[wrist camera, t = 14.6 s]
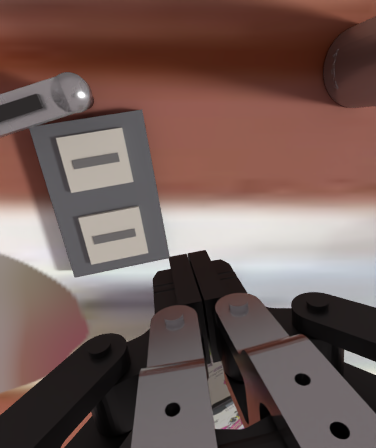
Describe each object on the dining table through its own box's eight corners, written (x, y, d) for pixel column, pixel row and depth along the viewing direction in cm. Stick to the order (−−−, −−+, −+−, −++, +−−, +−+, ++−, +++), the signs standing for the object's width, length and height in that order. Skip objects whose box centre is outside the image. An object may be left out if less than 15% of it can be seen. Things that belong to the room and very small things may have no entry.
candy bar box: (188, 342, 46) (215, 450, 31) (173, 318, 45) (192, 420, 29) (254, 306, 46) (313, 397, 31) (240, 281, 45) (296, 363, 29)
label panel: (141, 110, 36) (142, 109, 33) (168, 251, 41) (170, 260, 39) (34, 127, 34) (26, 127, 32) (77, 270, 40) (73, 280, 38)
